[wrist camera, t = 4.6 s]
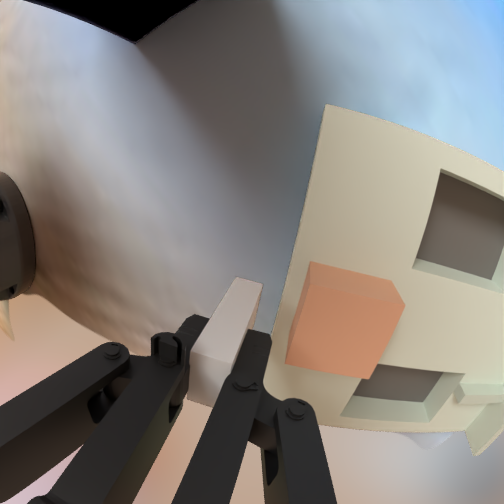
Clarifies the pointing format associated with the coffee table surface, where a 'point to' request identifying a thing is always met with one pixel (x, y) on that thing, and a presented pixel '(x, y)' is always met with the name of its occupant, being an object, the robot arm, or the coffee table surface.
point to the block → (342, 321)
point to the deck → (405, 279)
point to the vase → (120, 14)
